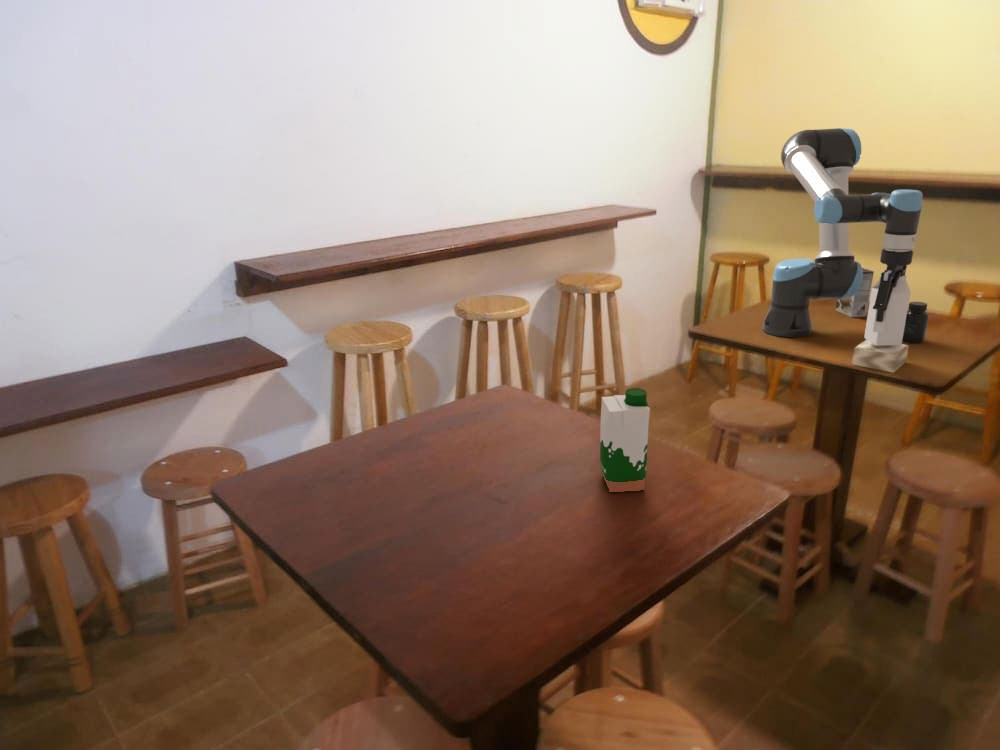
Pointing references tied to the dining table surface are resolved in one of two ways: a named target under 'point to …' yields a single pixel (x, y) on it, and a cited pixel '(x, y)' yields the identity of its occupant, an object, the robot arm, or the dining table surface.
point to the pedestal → (880, 356)
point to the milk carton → (889, 315)
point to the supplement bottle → (916, 323)
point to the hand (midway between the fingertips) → (884, 327)
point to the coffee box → (857, 298)
